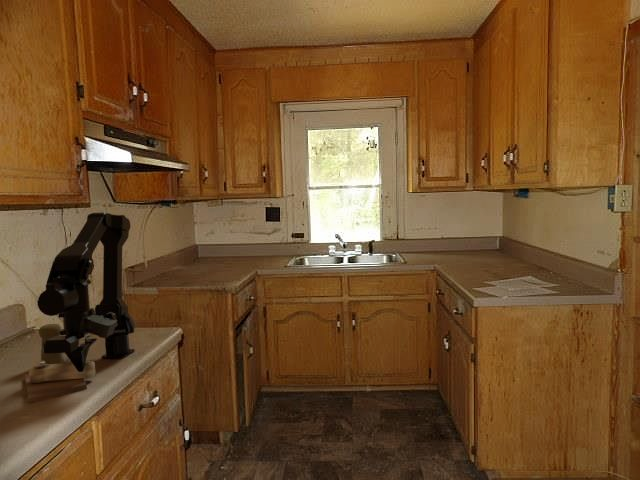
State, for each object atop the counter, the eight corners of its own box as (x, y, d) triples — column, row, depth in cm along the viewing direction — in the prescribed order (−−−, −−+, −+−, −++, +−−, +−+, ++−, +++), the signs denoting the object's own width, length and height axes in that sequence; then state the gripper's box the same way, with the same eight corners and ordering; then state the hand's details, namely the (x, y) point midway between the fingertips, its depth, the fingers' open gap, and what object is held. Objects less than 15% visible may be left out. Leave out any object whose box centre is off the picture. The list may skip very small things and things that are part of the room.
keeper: (35, 388, 110) (33, 364, 109) (32, 379, 116) (30, 356, 116) (79, 378, 115) (77, 354, 115) (74, 369, 122) (72, 347, 121)
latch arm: (26, 383, 110) (24, 371, 110) (35, 376, 114) (34, 364, 114) (91, 378, 111) (90, 366, 111) (98, 371, 116) (97, 359, 115)
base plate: (25, 378, 117) (24, 374, 117) (76, 367, 123) (76, 363, 123) (28, 402, 102) (28, 398, 102) (86, 388, 109) (86, 384, 109)
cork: (60, 359, 131) (56, 320, 129) (70, 363, 127) (66, 323, 126) (36, 365, 126) (32, 325, 125) (45, 370, 122) (41, 329, 121)
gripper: (89, 313, 100) (94, 385, 101) (127, 297, 119) (131, 358, 120) (38, 315, 101) (44, 386, 102) (83, 299, 119) (88, 359, 120)
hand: (80, 371), depth 111 cm, fingers closed
